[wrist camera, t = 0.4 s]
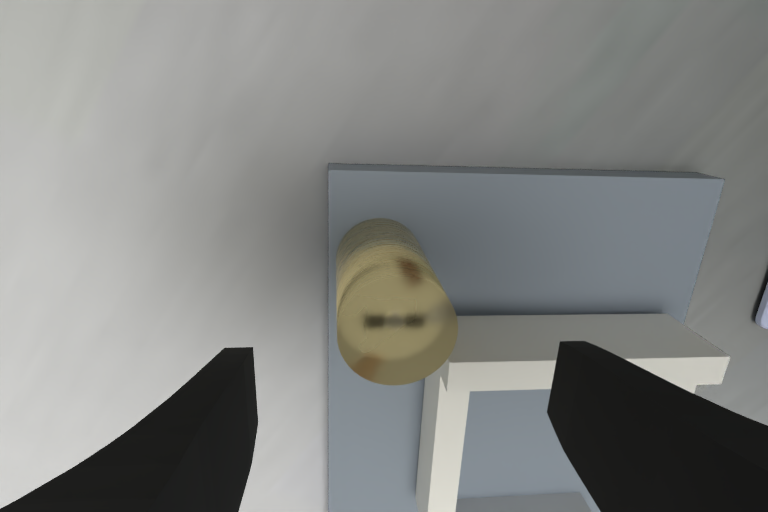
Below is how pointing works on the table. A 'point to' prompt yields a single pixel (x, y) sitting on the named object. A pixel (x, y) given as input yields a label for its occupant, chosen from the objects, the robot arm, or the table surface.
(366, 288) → the pin
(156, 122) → the table surface
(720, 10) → the table surface
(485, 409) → the base board
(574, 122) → the table surface
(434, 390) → the frame
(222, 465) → the robot arm
